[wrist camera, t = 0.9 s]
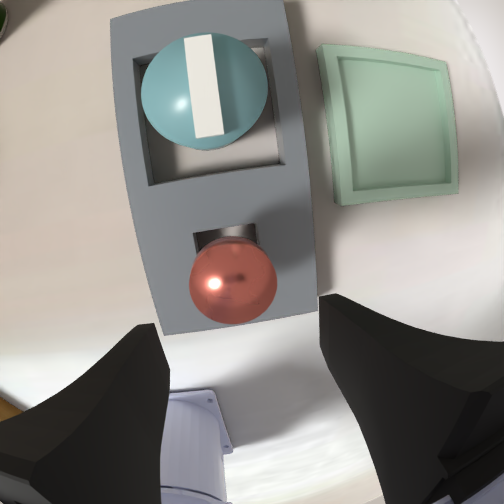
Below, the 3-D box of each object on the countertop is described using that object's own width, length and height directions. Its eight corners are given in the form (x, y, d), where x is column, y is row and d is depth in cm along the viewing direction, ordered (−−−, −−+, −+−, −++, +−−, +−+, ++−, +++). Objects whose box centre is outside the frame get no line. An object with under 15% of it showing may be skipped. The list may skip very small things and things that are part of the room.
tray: (448, 191, 19) (458, 193, 18) (334, 202, 18) (341, 205, 17) (436, 64, 16) (445, 61, 15) (315, 49, 15) (322, 43, 14)
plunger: (269, 287, 18) (280, 316, 14) (201, 298, 17) (198, 329, 14) (261, 220, 16) (272, 237, 13) (187, 231, 16) (180, 251, 13)
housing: (310, 299, 20) (317, 310, 19) (167, 322, 20) (163, 335, 18) (276, 4, 14) (281, -7, 12) (117, 28, 13) (110, 19, 12)
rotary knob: (254, 144, 17) (278, 138, 10) (172, 157, 17) (145, 159, 10) (244, 68, 15) (261, 21, 9) (163, 80, 15) (133, 40, 8)
